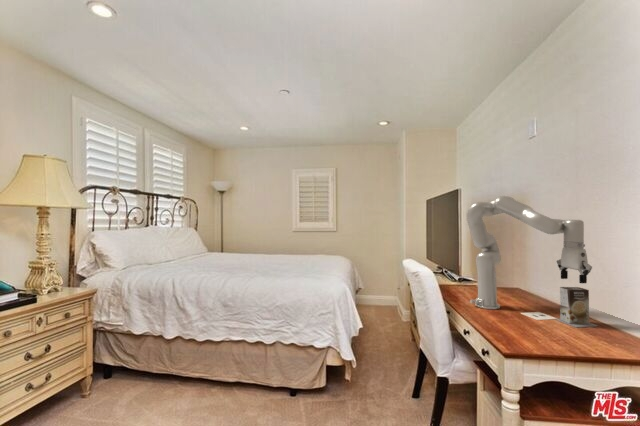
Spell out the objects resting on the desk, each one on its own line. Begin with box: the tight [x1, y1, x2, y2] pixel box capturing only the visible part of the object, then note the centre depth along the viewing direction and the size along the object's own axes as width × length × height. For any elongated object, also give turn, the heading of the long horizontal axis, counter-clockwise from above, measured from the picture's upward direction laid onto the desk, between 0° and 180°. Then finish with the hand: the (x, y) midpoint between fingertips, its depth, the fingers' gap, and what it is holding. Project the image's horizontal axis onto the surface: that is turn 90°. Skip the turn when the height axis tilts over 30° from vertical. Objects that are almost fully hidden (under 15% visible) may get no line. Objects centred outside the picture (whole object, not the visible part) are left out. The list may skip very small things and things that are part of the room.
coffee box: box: [559, 286, 590, 324], centre depth 148 cm, size 9×6×16 cm
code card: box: [520, 311, 558, 321], centre depth 158 cm, size 11×11×1 cm
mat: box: [555, 318, 599, 329], centre depth 147 cm, size 11×11×1 cm
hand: (573, 280), depth 148 cm, fingers open, 9 cm apart
